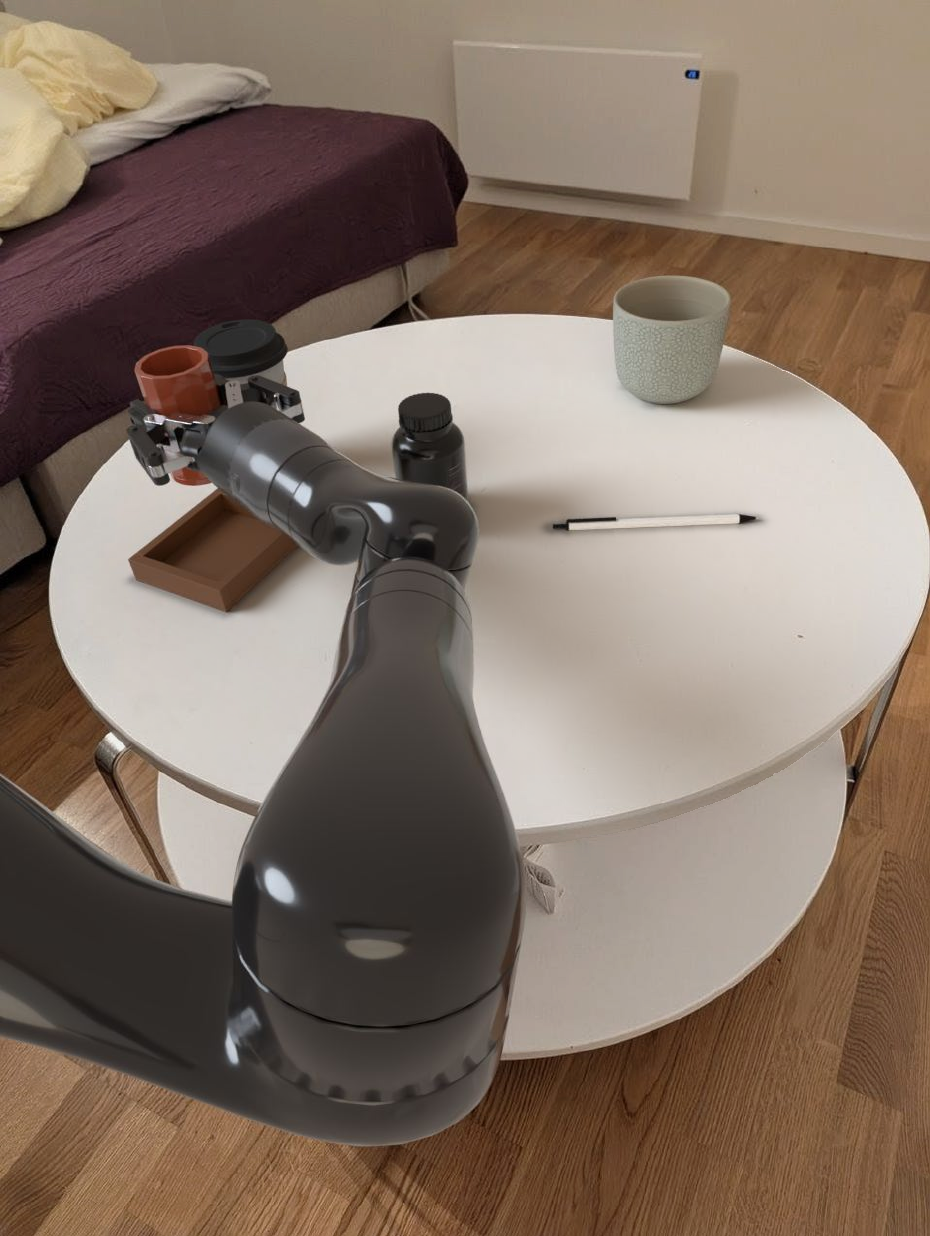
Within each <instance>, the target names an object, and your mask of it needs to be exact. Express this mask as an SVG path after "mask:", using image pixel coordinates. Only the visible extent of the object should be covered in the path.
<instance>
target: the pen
mask: <svg viewBox="0 0 930 1236" xmlns="http://www.w3.org/2000/svg"><path fill="white" fill-rule="evenodd" d="M755 520H758V517H757V516H753V515H749V514H748V515H747V514H741V513H732V514H730V513H728V514H727V513H726V514H707V515H704V514H703V515H683V516H681V515H680V516H659V517H658V516H657V517H636V518H635V517H633V518H617V516H610V517H609V516H606V517H589V518H587V517H585V518H568V519H566V520H565V523H554V524H552V529H565V530H566V531H583V530H584V531H585V530H587V531H588V530H606V529H607V530H609V529H610V530H611V529H633V528H636V529H637V528H661V527H662V528H663V527H685V526H686V527H687V526H707V525H708V526H710V525H731V524H743V523H746V522H751V521H755Z"/></svg>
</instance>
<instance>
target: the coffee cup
mask: <svg viewBox="0 0 930 1236" xmlns="http://www.w3.org/2000/svg"><path fill="white" fill-rule="evenodd" d="M193 343H194V345H193V346H196V347H201V348H202V349H204V350H205V351H206V352H207V353H208V355H209V358H210V362H211V365H212V369H213V373H214V374H218V375H221V376H222V377H224V378H225V379H227V380H229V381H239V383H240V384H245V383H248V380H247V379H248V378H249V377H251V376H254V375H259V376H262V377H264V378H267V379H270V380H272V381H275V382H277V383H280V384H282V385H285V386H287V387H288V381H287V374H286V371H285V365H284V359H285V358H286V356H287V355H288V349H289V347H288V345H287V344H286V341H285V338H284V337H283V336H282V334H280V333H278V332H277V330H276V328H275V327H274V325H272V324H271V323H269V322H267V321H263V320H259V319H236V320H229V321H225V322H221V323H218V324H216V325H212V326H210V327H208V328H206V329H204V330H203V331H202V332H200V333H199V334H198V335H197V336H196V337H195V338H194V342H193Z"/></svg>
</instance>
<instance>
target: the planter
mask: <svg viewBox="0 0 930 1236" xmlns="http://www.w3.org/2000/svg"><path fill="white" fill-rule="evenodd" d="M612 301H613V302H612V335H613V355H614V364H615V365H614V366H615V371H616V376H617V378H618V380H619V383H620V384H621V385H622V386H623V388H624V389H625V390H626V391H627V392H629V393H630V394H631V395H633V396H634V397H636V398H639V399H640V400H642V401H644V402H649V403H653V404H660V405H661V404H662V405H670V404H671V405H672V404H678V403H682V402H685V401H688V400H690V399H693V398H694V397H696V396H698V395H700V394H702V393H703V392H704V391H705V390H707V388H708V387H709V386H710V385H711V384H712V382H713V381H714V379H715V376H716V374H717V371H718V368H719V365H720V360H721V357H722V353H723V348H724V343H725V339H726V334H727V330H728V329H727V328H728V324H729V319H730V318H729V317H730V313H731V303H732V297H731V295H730V292H729V291H728V290H727V289H725V288H724V287H723V286H721V285H719V284H718V283H716V282H715V281H711V280H708V279H704V278H700V277H695V276H687V275H658V276H657V275H656V276H650V277H649V276H648V277H645V278H640V279H636V280H634V281H631V282H628V283H627V284H625V285H623V286H621V287H620V288H619V289H618V290H617V291H616V292H615V294H614V295H613V300H612Z"/></svg>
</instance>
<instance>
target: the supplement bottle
mask: <svg viewBox="0 0 930 1236" xmlns="http://www.w3.org/2000/svg"><path fill="white" fill-rule="evenodd" d="M397 412H398V426H399V427H398V428H397V429H396V431H395V432H394V433H393V436H392V438H391V454H392V462H393V469H394V478H396V479H401V480H407V481H415V482H423V483H430V484H435V485H439V486H443V487H446V488H449V489H451V490H454V491H456V492H457V493H459V494H460V495H461V496H463V497H464V498H465V499H466V500H467V502H468V503H469V491H468V475H467V460H466V459H467V458H466V446H465V445H466V443H465V436H464V433H463V431H462V430H461V429H460V427H459V426H458V425H457V424H455V422H454V419H453V418H454V416H453V413H452V404H451V401H450V400H449V398H448V397H446V396H445V395H443V394H439V393H435V392H420V393H416V394H412V395H409V396H407V397H404V399H402V400H401V402H399V404H398V408H397Z"/></svg>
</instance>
